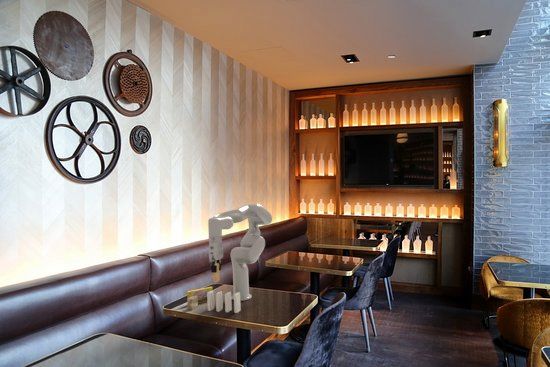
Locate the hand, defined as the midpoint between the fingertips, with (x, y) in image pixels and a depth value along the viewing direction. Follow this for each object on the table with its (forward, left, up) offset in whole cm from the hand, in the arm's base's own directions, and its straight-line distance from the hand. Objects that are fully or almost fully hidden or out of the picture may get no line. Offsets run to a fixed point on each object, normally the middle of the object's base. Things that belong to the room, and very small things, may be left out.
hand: (216, 271), depth 225 cm
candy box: (-18, -5, -22) cm, 29 cm away
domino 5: (+11, +8, -22) cm, 26 cm away
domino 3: (+3, 0, -22) cm, 22 cm away
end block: (-9, -12, -22) cm, 26 cm away
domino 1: (-1, -3, -22) cm, 22 cm away
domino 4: (+7, +4, -22) cm, 23 cm away
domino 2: (0, 0, -6) cm, 6 cm away
